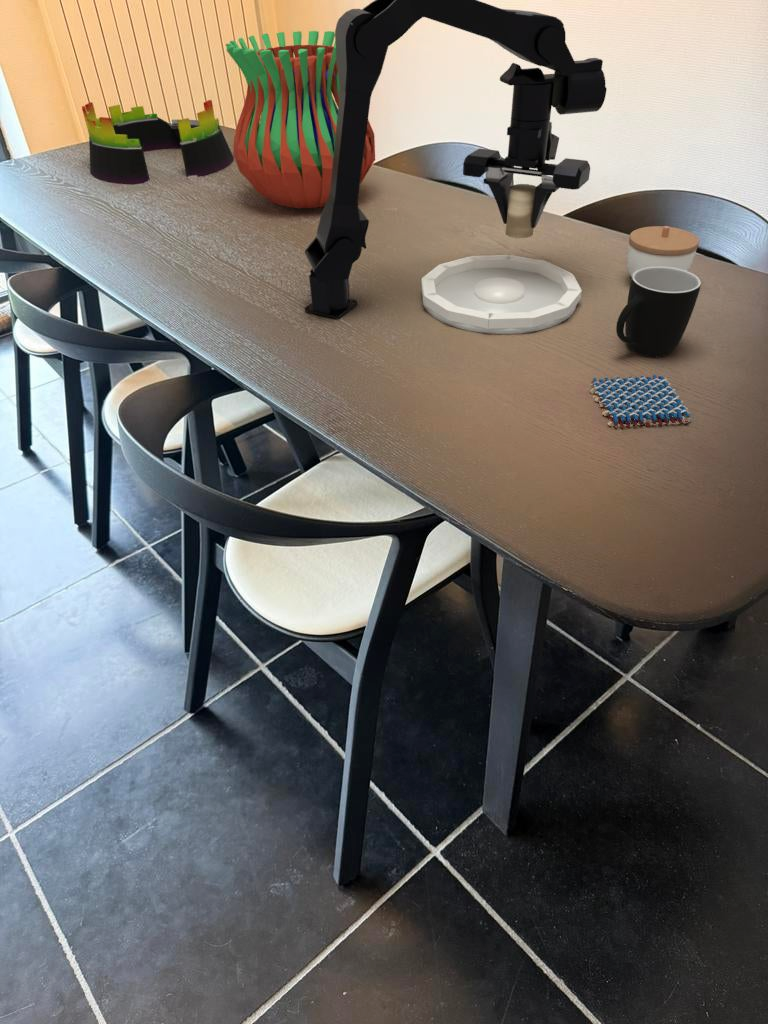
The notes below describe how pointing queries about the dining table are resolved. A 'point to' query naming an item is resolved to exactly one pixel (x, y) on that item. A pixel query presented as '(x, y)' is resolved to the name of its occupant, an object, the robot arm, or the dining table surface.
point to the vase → (290, 119)
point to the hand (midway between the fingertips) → (519, 225)
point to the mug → (657, 309)
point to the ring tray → (500, 294)
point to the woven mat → (638, 401)
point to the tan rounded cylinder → (520, 211)
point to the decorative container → (152, 143)
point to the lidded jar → (661, 248)
